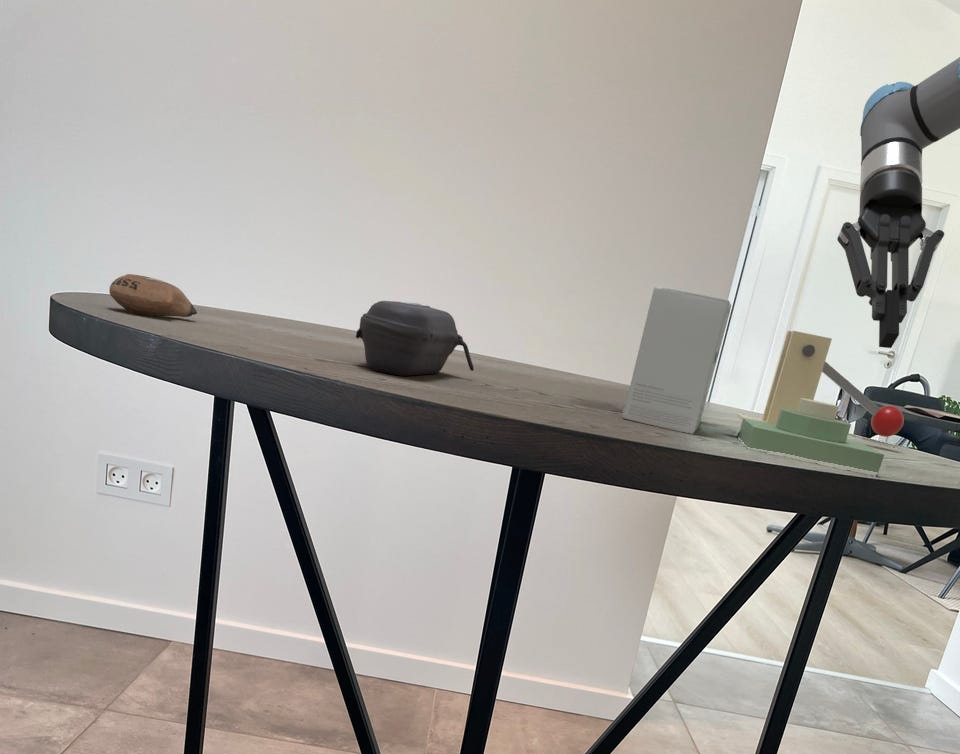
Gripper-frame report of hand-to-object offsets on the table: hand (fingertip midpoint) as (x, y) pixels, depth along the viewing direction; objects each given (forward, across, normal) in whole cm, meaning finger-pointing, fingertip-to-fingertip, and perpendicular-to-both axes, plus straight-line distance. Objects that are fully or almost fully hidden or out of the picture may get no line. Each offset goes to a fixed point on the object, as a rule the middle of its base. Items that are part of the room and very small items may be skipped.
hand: (888, 340), depth 118 cm
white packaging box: (+26, +28, +16) cm, 42 cm away
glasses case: (+24, +54, +18) cm, 62 cm away
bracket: (+14, +12, -1) cm, 19 cm away
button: (+26, +14, +20) cm, 35 cm away
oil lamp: (+20, +83, +18) cm, 87 cm away
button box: (+29, +14, +18) cm, 36 cm away
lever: (+10, +7, +2) cm, 12 cm away
